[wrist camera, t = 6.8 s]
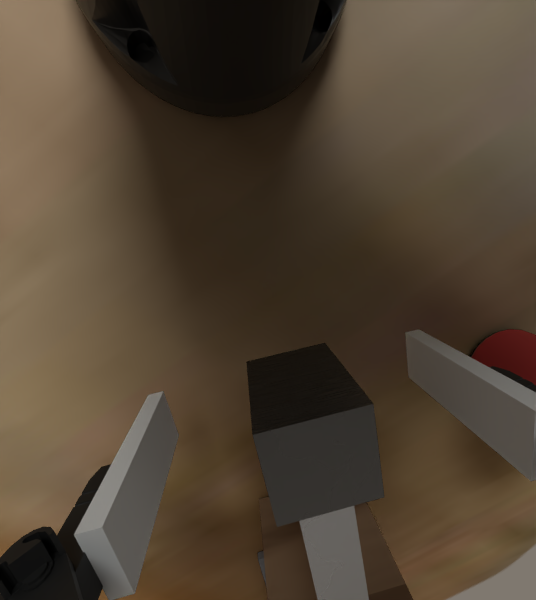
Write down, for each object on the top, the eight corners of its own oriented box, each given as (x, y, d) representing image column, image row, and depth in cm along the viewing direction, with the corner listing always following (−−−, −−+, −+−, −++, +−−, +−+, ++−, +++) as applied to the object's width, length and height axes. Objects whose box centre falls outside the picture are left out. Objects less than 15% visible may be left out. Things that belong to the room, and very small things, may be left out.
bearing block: (258, 499, 25) (281, 765, 13) (352, 473, 26) (463, 705, 13) (271, 545, 27) (303, 823, 14) (359, 520, 27) (465, 767, 15)
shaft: (246, 361, 13) (252, 434, 9) (324, 342, 14) (373, 403, 9) (317, 647, 20) (344, 784, 15) (371, 631, 20) (415, 760, 15)
